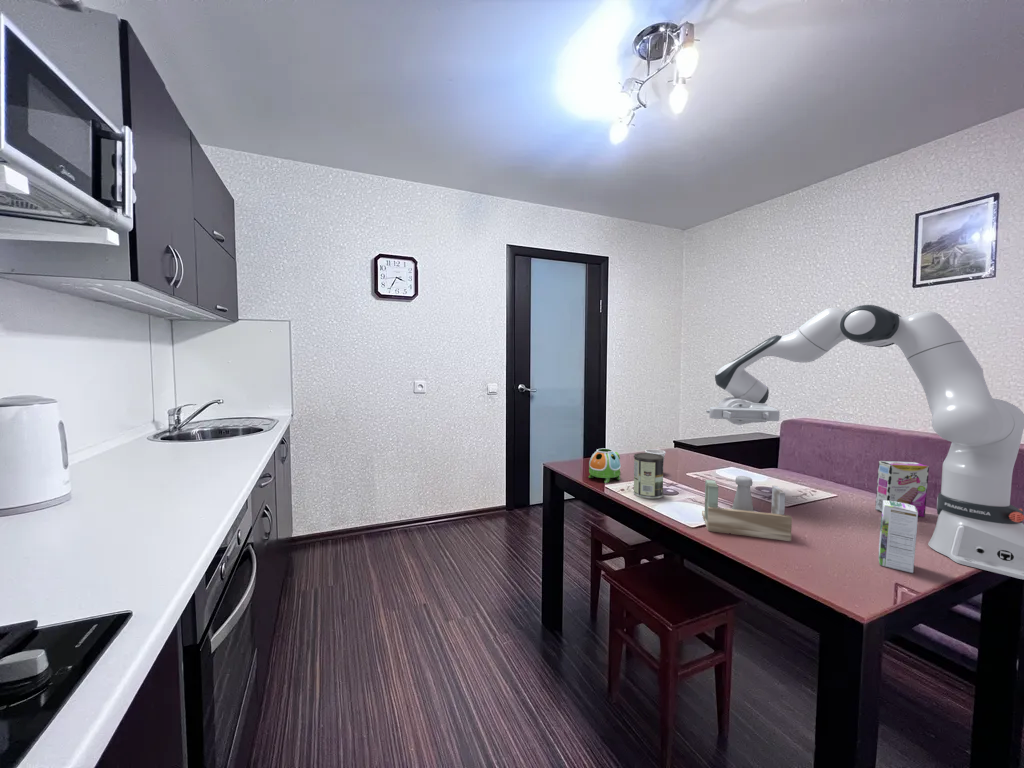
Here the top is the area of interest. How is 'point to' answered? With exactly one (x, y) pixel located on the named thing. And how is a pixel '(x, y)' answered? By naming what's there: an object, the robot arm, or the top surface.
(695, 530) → the top surface
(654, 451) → the dixie cup
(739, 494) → the salt shaker
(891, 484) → the candy bar box
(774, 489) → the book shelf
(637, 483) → the coffee can
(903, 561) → the syrup box
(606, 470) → the turtle holder
